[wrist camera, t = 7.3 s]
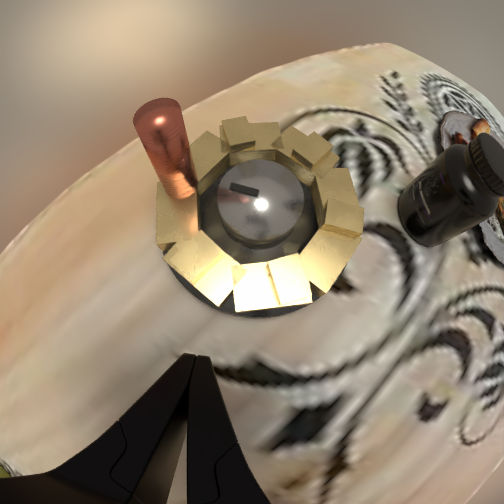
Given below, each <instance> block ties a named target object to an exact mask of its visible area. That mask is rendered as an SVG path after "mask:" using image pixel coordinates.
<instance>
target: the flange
mask: <svg viewBox="0 0 504 504" xmlns="http://www.w3.org/2000/svg"><path fill="white" fill-rule="evenodd" d="M200 213H201V230H202V231H203V232H204V233H205V234H206V235H207V236H208V237H209V238H210V239H211V240H212V241H213V242H214V243H215V244H217V245H218V246H219V247H220V248H221V249H222V250H223V251H224V252H225V253H226V254H228V255H229V256H230V257H231V258H233V259H234V260H235V261H236V262H238V263H239V264H240V265H243V264H252V263H262V262H268V261H271V260H275V259H278V258H282V257H285V256H289V255H292V254H296V253H298V255H300V254H301V252H302V251H303V250H304V248H305V247H306V246H307V244H308V243H309V242H310V240H311V239H312V238H313V236H314V235H315V234H316V232H317V231H318V230H319V229H318V224H317V219H316V214H315V210H314V205H313V200H312V196H311V192H310V188H309V187H308V186H307V185H305V184H304V183H302V182H301V181H299V180H298V179H297V177H296V176H295V175H294V174H293V173H292V172H291V171H290V170H289V169H287V168H286V167H284V166H282V165H281V164H278V163H276V162H273V161H269V160H250V161H246V162H242V163H240V164H238V165H236V166H230V167H229V168H227V169H226V170H225V171H224V172H223V173H222V174H221V175H220V176H219V177H218V178H217V179H216V180H215V181H214V182H213V183H212V184H211V185H210V186H209V187H208V188H207V189H206V190H205V191H204V192H203V193H202V195H201V196H200ZM167 253H168V252H163V254H164V256H165V255H166V254H167ZM168 265H169V264H168ZM169 267H170V269H171V270H172V272H173V273H174V275H175V276H176V278H177V279H178V280H179V281H180V282H181V283H182V284H183V286H184V287H185V288H186V289H187V290H189V291H190V292H191V293H192V294H193V295H194V296H196V297H197V298H198V299H200V300H201V301H203V302H204V303H206V304H208V305H209V306H211V307H213V308H215V309H217V310H220V311H222V312H224V313H228V314H231V315H235V316H240V317H247V318H268V317H276V316H280V315H284V314H287V313H291V312H294V311H296V310H298V309H300V308H303V307H305V306H307V305H309V304H310V303H309V304H307V305H302V306H295V307H288V308H280V309H272V310H263V311H255V312H246V313H236V310H235V300H234V293H233V294H232V296H231V297H230V298H229V299H228V300H227V302H226V303H225V304H224V305H223V307H222V308H221V309H220V308H219V307H218V306H217V305H215V304H214V303H213V302H212V301H211V300H209V299H208V298H207V297H206V296H205V295H203V294H202V293H201V292H200V291H199V290H198V289H196V288H195V287H194V286H193V285H192V284H191V283H189V282H188V281H187V280H186V279H185V278H184V277H182V276H181V275H180V274H179V273H178V272H177V271H176V270H174V269H173V268H172V267H171V266H170V265H169ZM345 267H346V265H345ZM345 267H344V268H343V270H344V269H345ZM343 270H342V271H341V273H340V274H339V276H338V277H337V279H336V280H335V282H336V281H337V280H338V278H339V277H340V275H341V274H342V272H343ZM335 282H334V283H335ZM334 283H333V284H334ZM331 287H332V286H331ZM311 293H312V292H311ZM311 297H312V302H314V301H315V300H317V299H318V298H320V297H321V296H320V297H317V296H316V295H315V294H314V293H312V295H311Z"/></svg>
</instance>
